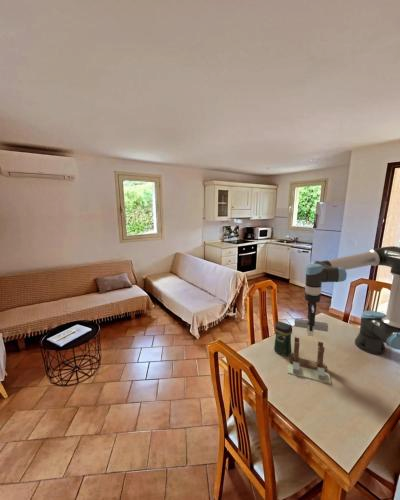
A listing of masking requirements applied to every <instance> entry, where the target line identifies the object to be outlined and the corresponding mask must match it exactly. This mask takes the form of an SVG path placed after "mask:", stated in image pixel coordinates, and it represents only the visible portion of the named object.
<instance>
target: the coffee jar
mask: <svg viewBox="0 0 400 500" xmlns="http://www.w3.org/2000/svg"><path fill="white" fill-rule="evenodd" d="M274 331H275V339H274V346H273V350H274V351H275V352H276V353H277V354H280V355H281V356H284V357H288V356H291V354H292V333H293V325H291V324H289V323H286V322H282V321H280V320H278V321H277V322H276V323H275V325H274Z"/></svg>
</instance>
